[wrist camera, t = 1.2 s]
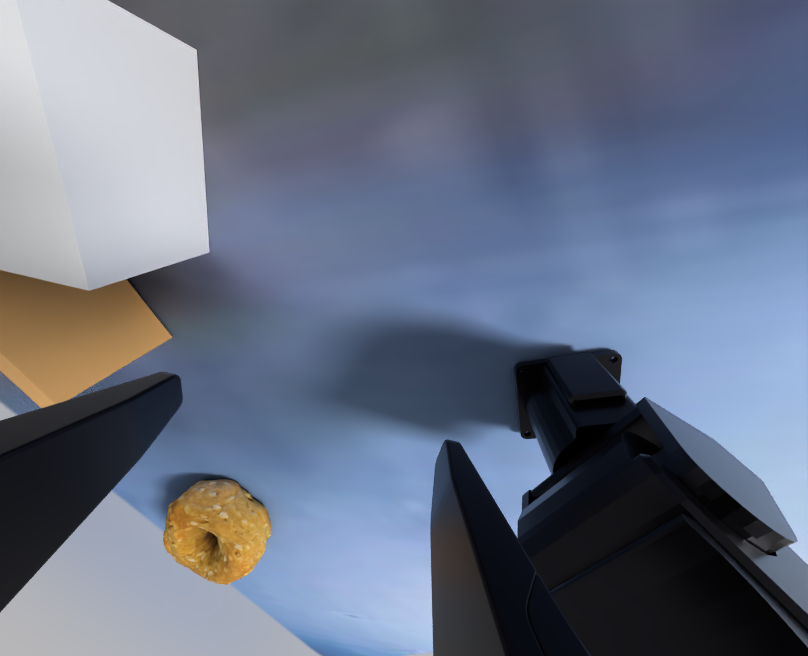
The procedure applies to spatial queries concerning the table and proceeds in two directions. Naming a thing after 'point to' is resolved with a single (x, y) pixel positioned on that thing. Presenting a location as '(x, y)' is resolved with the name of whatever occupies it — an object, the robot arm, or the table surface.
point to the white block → (97, 144)
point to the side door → (70, 334)
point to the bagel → (217, 530)
